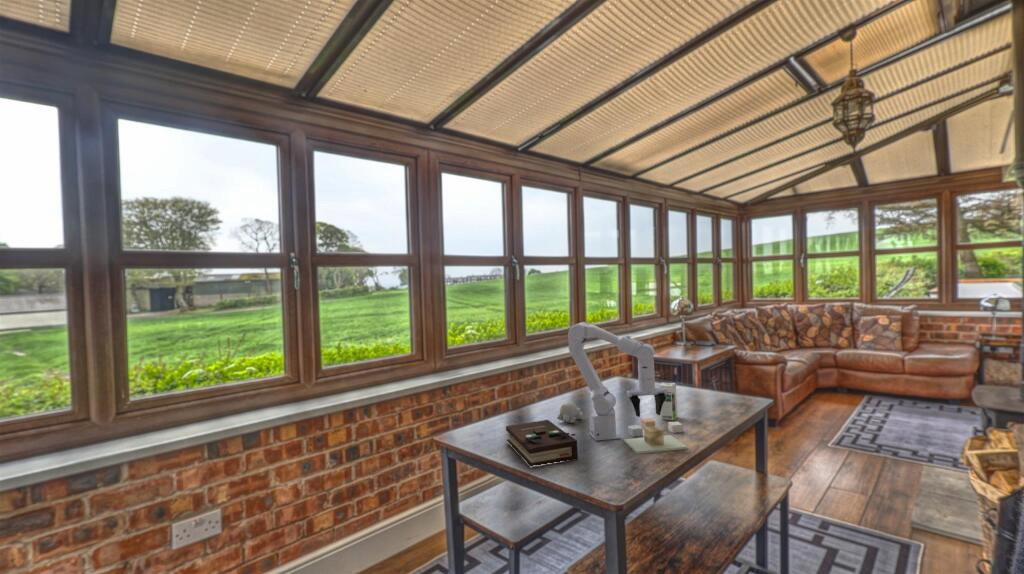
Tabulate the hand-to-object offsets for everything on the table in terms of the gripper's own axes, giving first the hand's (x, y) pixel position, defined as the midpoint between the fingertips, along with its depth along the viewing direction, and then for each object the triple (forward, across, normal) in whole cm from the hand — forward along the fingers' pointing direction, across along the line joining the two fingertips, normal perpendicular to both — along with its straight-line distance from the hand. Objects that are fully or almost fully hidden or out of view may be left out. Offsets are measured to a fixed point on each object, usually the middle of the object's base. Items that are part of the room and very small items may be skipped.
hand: (648, 415), depth 163 cm
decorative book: (+10, -40, 0) cm, 41 cm away
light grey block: (+10, +14, +8) cm, 18 cm away
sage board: (+9, 0, -4) cm, 10 cm away
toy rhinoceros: (+10, -22, +29) cm, 38 cm away
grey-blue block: (+10, -2, +8) cm, 12 cm away
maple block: (+8, 0, -4) cm, 10 cm away
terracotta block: (+10, +6, +14) cm, 18 cm away
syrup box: (+10, +18, +23) cm, 31 cm away
